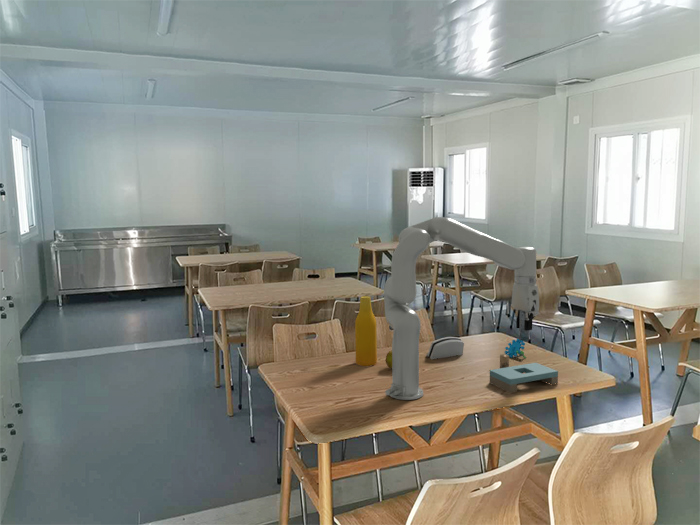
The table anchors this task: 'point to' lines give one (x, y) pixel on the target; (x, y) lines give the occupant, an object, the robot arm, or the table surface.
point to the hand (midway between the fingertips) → (524, 328)
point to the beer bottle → (366, 334)
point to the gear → (515, 348)
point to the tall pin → (522, 333)
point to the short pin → (504, 361)
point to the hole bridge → (521, 376)
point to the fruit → (389, 359)
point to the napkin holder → (445, 348)
